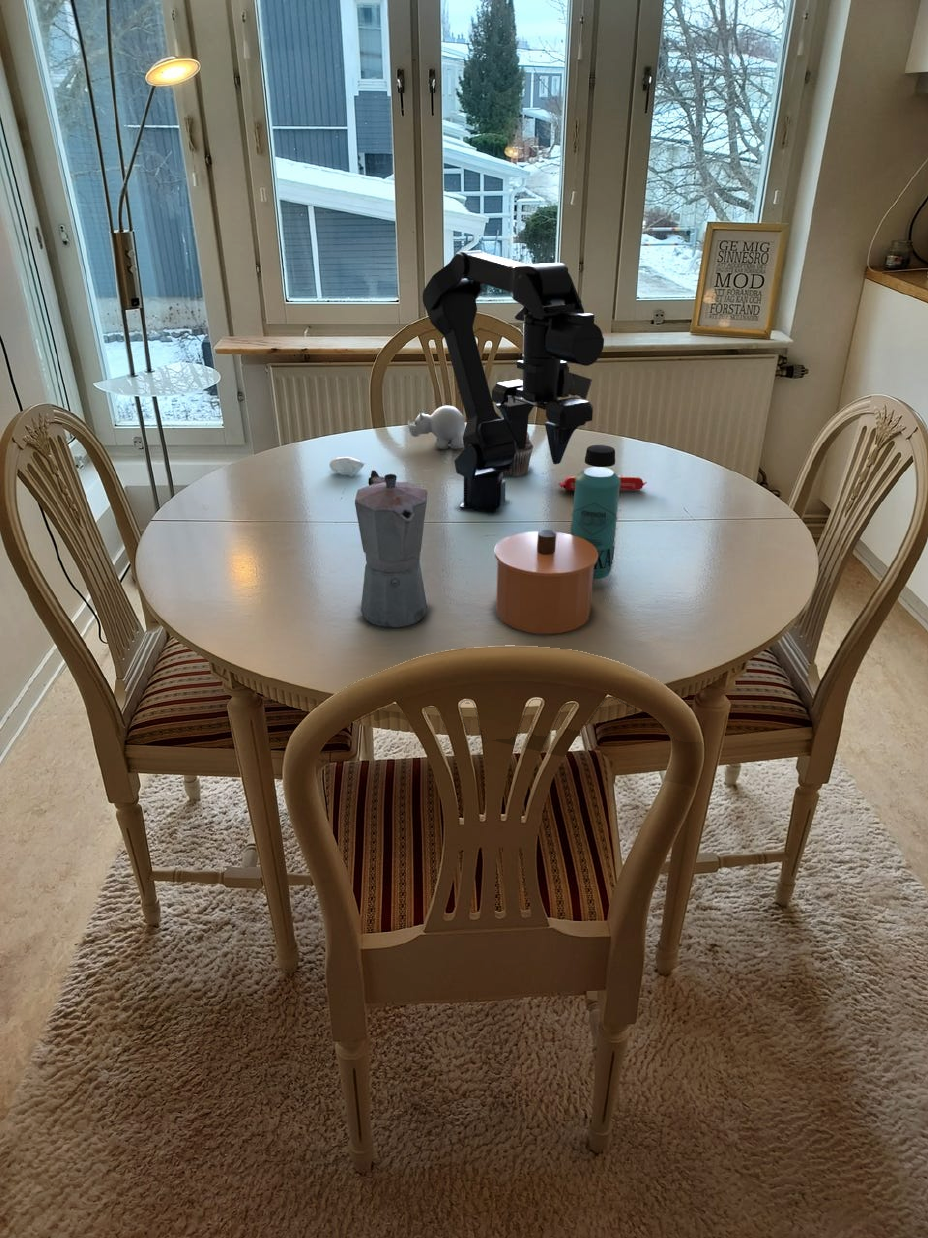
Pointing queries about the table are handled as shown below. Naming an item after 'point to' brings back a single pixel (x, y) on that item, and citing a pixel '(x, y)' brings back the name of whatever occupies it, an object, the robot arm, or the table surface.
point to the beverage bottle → (597, 506)
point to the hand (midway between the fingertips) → (538, 456)
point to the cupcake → (521, 460)
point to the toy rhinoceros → (440, 426)
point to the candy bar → (626, 484)
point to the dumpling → (346, 465)
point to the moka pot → (392, 550)
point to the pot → (543, 600)
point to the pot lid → (546, 553)
